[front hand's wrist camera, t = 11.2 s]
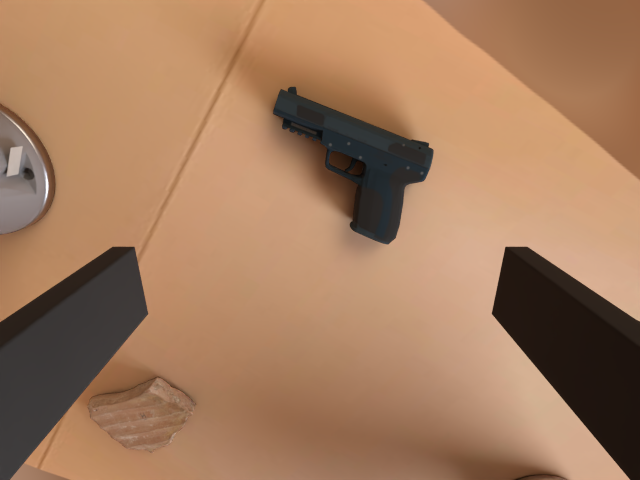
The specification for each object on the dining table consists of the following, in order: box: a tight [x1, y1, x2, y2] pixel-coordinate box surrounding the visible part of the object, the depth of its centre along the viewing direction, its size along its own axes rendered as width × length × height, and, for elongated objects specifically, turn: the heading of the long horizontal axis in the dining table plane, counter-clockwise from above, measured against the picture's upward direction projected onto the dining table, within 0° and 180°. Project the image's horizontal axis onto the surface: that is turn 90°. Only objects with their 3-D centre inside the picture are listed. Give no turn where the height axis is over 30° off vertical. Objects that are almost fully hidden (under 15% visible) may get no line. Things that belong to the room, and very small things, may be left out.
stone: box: [87, 378, 196, 453], centre depth 51 cm, size 13×12×3 cm
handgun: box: [273, 87, 433, 244], centre depth 38 cm, size 3×18×12 cm
